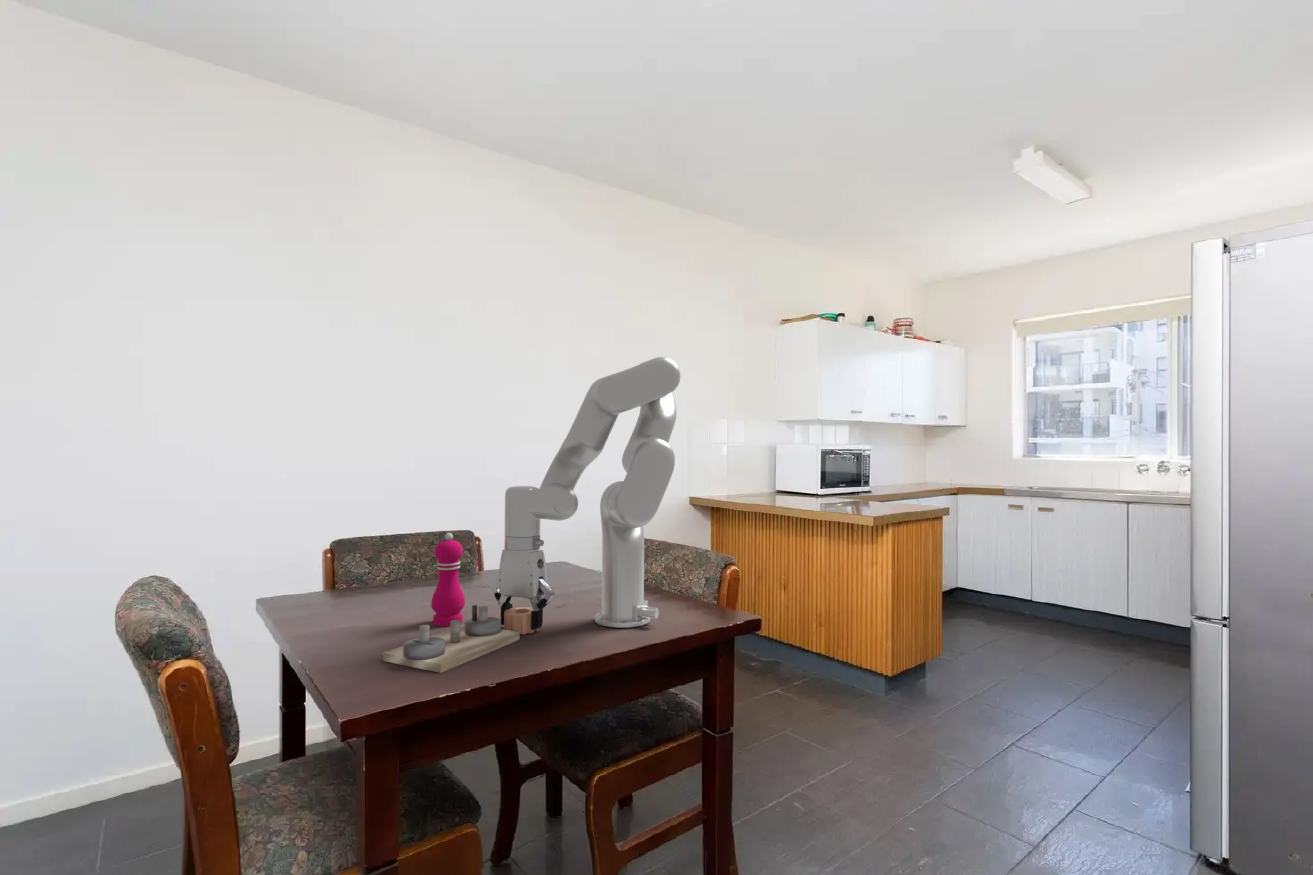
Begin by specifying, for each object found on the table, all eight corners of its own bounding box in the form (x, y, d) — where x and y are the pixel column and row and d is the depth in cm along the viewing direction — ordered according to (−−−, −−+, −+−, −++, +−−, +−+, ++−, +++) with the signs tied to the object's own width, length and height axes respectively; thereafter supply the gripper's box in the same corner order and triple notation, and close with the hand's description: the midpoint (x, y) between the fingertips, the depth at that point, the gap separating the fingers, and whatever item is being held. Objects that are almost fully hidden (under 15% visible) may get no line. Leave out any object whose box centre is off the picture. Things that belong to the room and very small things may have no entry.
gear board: (521, 638, 134) (521, 606, 135) (438, 674, 114) (439, 636, 114) (468, 629, 141) (468, 599, 141) (380, 661, 120) (381, 626, 120)
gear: (545, 627, 143) (545, 609, 143) (524, 636, 136) (525, 616, 136) (518, 623, 146) (518, 605, 146) (497, 631, 139) (497, 612, 139)
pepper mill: (454, 628, 142) (455, 535, 142) (424, 625, 143) (425, 534, 144) (470, 619, 149) (471, 531, 149) (441, 617, 150) (442, 530, 151)
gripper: (565, 544, 141) (565, 627, 141) (501, 538, 148) (500, 617, 148) (545, 549, 134) (544, 636, 134) (478, 543, 142) (477, 625, 141)
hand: (521, 625), depth 141 cm, fingers closed on gear, 7 cm apart
